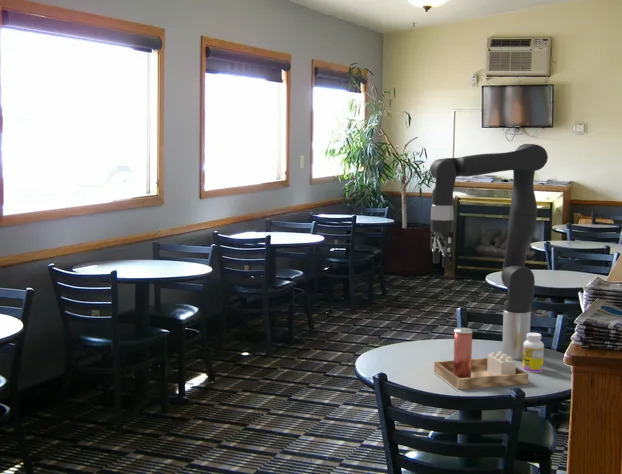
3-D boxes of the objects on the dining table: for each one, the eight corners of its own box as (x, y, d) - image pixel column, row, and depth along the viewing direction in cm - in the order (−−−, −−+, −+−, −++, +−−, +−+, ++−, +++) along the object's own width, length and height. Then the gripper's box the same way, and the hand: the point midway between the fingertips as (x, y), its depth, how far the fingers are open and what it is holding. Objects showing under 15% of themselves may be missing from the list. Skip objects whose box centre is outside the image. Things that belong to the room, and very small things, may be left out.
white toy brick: (501, 370, 268) (501, 349, 267) (515, 379, 259) (516, 357, 258) (487, 371, 267) (487, 350, 266) (500, 380, 257) (501, 358, 256)
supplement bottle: (519, 369, 273) (520, 331, 271) (538, 368, 273) (540, 331, 272) (526, 375, 266) (527, 336, 265) (546, 374, 267) (547, 336, 265)
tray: (499, 368, 273) (499, 357, 273) (527, 386, 254) (528, 373, 254) (433, 373, 268) (434, 361, 267) (457, 391, 249) (458, 379, 249)
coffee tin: (466, 375, 263) (467, 327, 261) (474, 380, 258) (475, 331, 256) (450, 376, 262) (451, 328, 260) (457, 381, 256) (458, 332, 254)
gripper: (460, 220, 269) (459, 268, 271) (444, 215, 282) (443, 261, 285) (439, 220, 267) (438, 269, 269) (423, 216, 281) (423, 262, 283)
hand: (441, 265), depth 277 cm, fingers open, 8 cm apart
